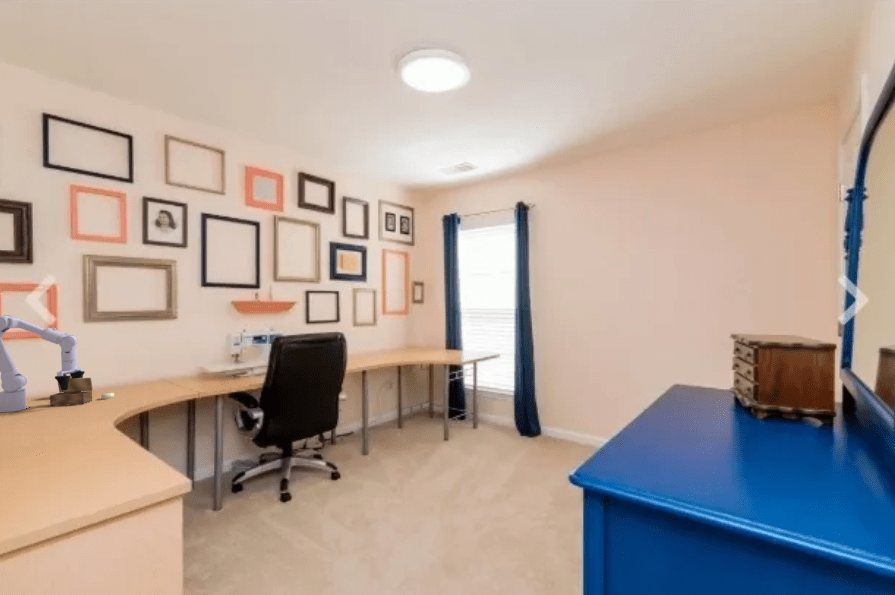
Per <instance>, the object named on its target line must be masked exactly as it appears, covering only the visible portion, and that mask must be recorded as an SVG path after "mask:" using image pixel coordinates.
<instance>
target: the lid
mask: <svg viewBox="0 0 895 595" xmlns="http://www.w3.org/2000/svg"><path fill="white" fill-rule="evenodd" d="M57 386H58V391H59V392H58V393H64V392H77V391H81V392H86V391H92V392H93V391H94V389H93V383H92V377H83V378H73V379H69V383H68V390H61V387H60V385H59V383H58V382H57Z"/></svg>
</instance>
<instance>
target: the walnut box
mask: <svg viewBox="0 0 895 595" xmlns="http://www.w3.org/2000/svg"><path fill="white" fill-rule="evenodd" d="M90 401H91V402H93V391H81V392H65V393H64V392H58V393H55V394H51V395H50V396H49V405H60V406H68V405H67V404H79V405H85V404H84V403H86V404H88V403H91V402H90ZM87 402H88V403H87Z"/></svg>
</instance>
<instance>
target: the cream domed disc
mask: <svg viewBox="0 0 895 595" xmlns="http://www.w3.org/2000/svg"><path fill="white" fill-rule="evenodd" d="M100 397H101V398H100V399H101V400H103V399H104V400H111V399H110V398H112V399H114V398H115V393H114V392H108V393H107V392H105V393H102V394H101V396H100Z"/></svg>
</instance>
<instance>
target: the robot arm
mask: <svg viewBox="0 0 895 595" xmlns="http://www.w3.org/2000/svg"><path fill="white" fill-rule="evenodd" d="M10 329H22V330H25V331H28V332H30V333H34V334H36V335H39V336H40V338H41V339H42V340H45V341H47V342H50V343H52V344H55V345H59V347H60V350H61V351H60V355H61V356H60V359H61V361H60V362H61V370H60V371H57V372H56V375H55V376H54V379H55V380H56V381H57V384H58V383H59V385H60V387H61V390H68V383H69V379H70V377H72V379H73V378H82V376H83V377H84V374H85V371H84V370H83V367H82V366H78V351H77V344H78V339H77V337H76V336H74V335H71V334H70V335H69V334H68V333H67V332H65V333H64V332H62V331H58V330H57V328H55V327H53V328H52V327H48V328H44V327H41V326H38V325H37V324H34V323H31V322H29V321H26V320H24V319H21V318H18V317H14V316H11V315H7V314H5V315H0V380H1V389H2V391H0V413H10V412H11V413H12V412H20V411H23V410H26V408H27V409H29V407H30V408H31V407H32V406H28V405H27V406H26V400H27V399H26V393H27V392H26V391H27V390H26V387H25V385H26V384H27V383H28V380H27V379H28V378H26V376H24V375H23V374H22V373H21V371H20V370H18V368H17V367H16V365H15V363H14V361H13V358H12V357H11V355H10V353H9V351H8V349H7V347H6V344H5V343H4V341H3V340H4V339H3V336H4V334H6V332H7V331H9V330H10Z"/></svg>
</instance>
